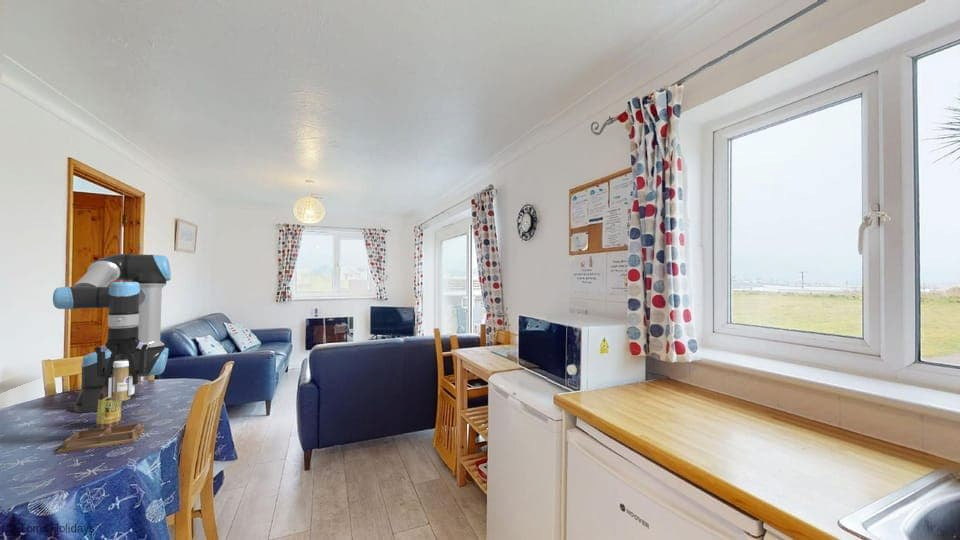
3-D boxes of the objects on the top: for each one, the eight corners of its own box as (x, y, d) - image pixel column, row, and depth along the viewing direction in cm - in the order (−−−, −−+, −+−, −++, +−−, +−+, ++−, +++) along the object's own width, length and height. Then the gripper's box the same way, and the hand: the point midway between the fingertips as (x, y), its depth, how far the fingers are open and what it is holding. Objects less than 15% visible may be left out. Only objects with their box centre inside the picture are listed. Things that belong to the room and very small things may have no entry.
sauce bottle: (104, 430, 128) (106, 374, 128) (91, 428, 129) (93, 373, 129) (126, 423, 134) (127, 370, 135) (113, 421, 136) (114, 369, 136)
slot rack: (76, 438, 121) (77, 429, 121) (146, 428, 130) (146, 420, 130) (55, 454, 111) (56, 444, 111) (133, 442, 119) (133, 433, 119)
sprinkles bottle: (124, 401, 120) (125, 361, 121) (108, 402, 119) (109, 362, 120) (134, 397, 125) (135, 358, 125) (118, 398, 124) (119, 359, 124)
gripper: (82, 329, 115) (80, 402, 115) (152, 326, 123) (150, 394, 123) (94, 326, 122) (91, 395, 122) (160, 324, 130) (158, 388, 130)
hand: (121, 395), depth 122 cm, fingers closed on sprinkles bottle, 4 cm apart
